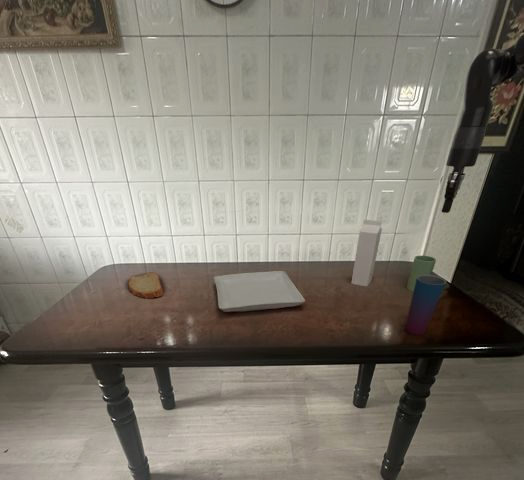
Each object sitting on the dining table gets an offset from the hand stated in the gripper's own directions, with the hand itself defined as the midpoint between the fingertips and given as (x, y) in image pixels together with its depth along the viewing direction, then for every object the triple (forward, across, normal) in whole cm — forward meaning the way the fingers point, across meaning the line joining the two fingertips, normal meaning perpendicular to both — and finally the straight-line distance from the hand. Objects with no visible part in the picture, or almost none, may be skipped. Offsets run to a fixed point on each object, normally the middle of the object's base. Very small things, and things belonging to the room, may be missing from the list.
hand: (445, 212), depth 96 cm
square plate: (+25, -42, +45) cm, 67 cm away
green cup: (+25, -4, +1) cm, 25 cm away
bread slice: (+25, -57, +83) cm, 104 cm away
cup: (+25, -35, -5) cm, 43 cm away
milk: (+25, -10, +20) cm, 33 cm away
